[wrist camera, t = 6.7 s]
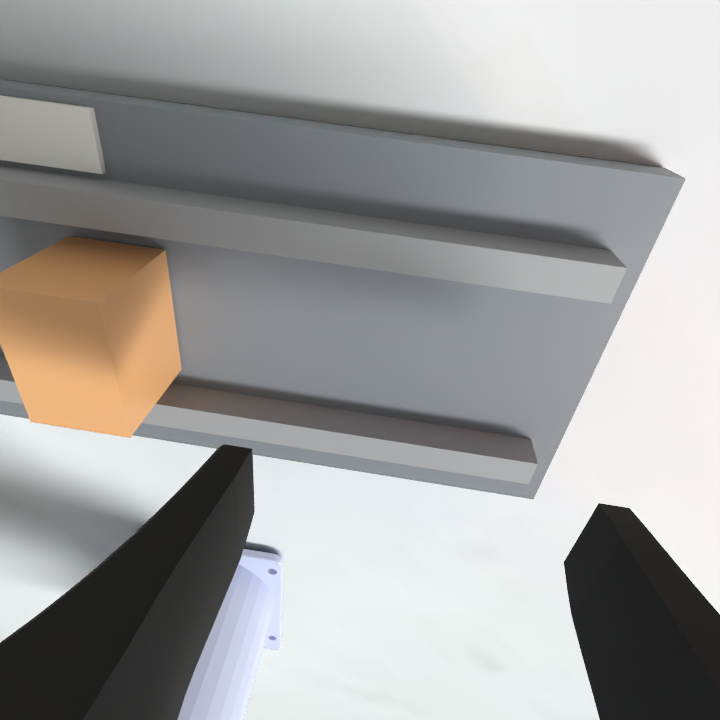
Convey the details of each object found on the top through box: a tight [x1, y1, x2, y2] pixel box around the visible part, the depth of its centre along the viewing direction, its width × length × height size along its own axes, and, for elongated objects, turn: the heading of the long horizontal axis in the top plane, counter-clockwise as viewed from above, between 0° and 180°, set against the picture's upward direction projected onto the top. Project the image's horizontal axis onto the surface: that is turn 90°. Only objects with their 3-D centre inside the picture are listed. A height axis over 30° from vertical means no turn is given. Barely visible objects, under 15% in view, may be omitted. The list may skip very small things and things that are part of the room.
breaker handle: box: [0, 236, 182, 438], centre depth 14 cm, size 4×3×4 cm
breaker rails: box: [0, 79, 685, 499], centre depth 15 cm, size 12×24×2 cm, turn 84°
